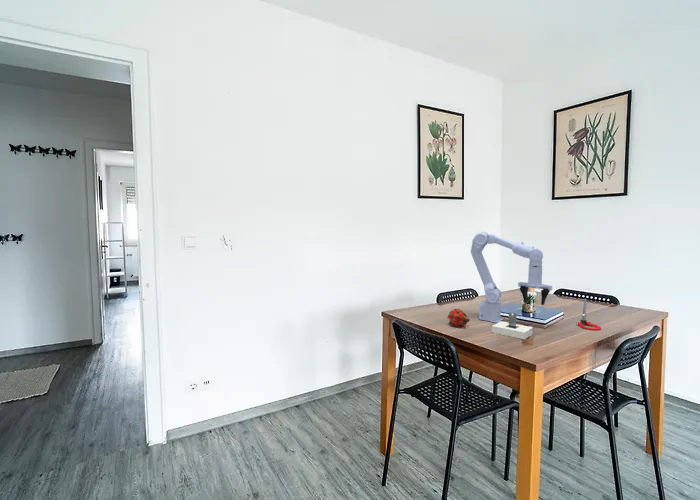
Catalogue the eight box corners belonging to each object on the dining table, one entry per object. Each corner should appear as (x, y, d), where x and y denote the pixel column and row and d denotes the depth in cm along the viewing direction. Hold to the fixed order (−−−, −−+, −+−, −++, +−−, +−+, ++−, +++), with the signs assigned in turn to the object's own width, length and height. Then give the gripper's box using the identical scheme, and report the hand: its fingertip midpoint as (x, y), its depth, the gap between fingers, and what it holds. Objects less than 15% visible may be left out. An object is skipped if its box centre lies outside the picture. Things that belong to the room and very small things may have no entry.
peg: (507, 333, 166) (507, 313, 165) (510, 331, 168) (510, 312, 167) (513, 334, 164) (514, 314, 163) (516, 333, 166) (517, 313, 165)
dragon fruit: (451, 324, 185) (466, 335, 174) (440, 316, 181) (454, 326, 170) (461, 310, 185) (476, 320, 174) (450, 302, 181) (465, 311, 170)
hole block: (491, 332, 167) (491, 325, 167) (500, 327, 174) (500, 321, 174) (524, 339, 157) (524, 332, 157) (532, 334, 165) (532, 327, 164)
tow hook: (605, 331, 170) (590, 324, 179) (608, 303, 168) (592, 298, 177) (588, 332, 169) (573, 325, 178) (591, 304, 167) (576, 298, 176)
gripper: (516, 274, 178) (515, 302, 179) (549, 277, 168) (547, 307, 169) (521, 272, 183) (520, 299, 184) (554, 275, 173) (552, 304, 174)
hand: (534, 303), depth 177 cm, fingers open, 7 cm apart
